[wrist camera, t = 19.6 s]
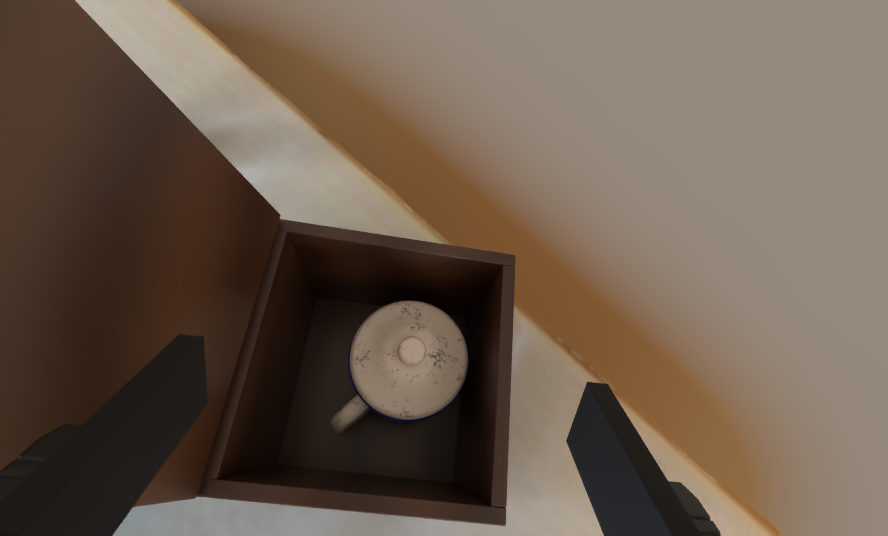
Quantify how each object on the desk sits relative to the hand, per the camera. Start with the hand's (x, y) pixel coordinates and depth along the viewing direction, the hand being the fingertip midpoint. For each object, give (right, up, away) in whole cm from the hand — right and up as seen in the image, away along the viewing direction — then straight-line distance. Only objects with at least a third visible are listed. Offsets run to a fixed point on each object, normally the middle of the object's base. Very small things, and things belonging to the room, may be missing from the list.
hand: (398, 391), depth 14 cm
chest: (-4, -7, +25) cm, 26 cm away
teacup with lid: (-3, -7, +24) cm, 26 cm away
